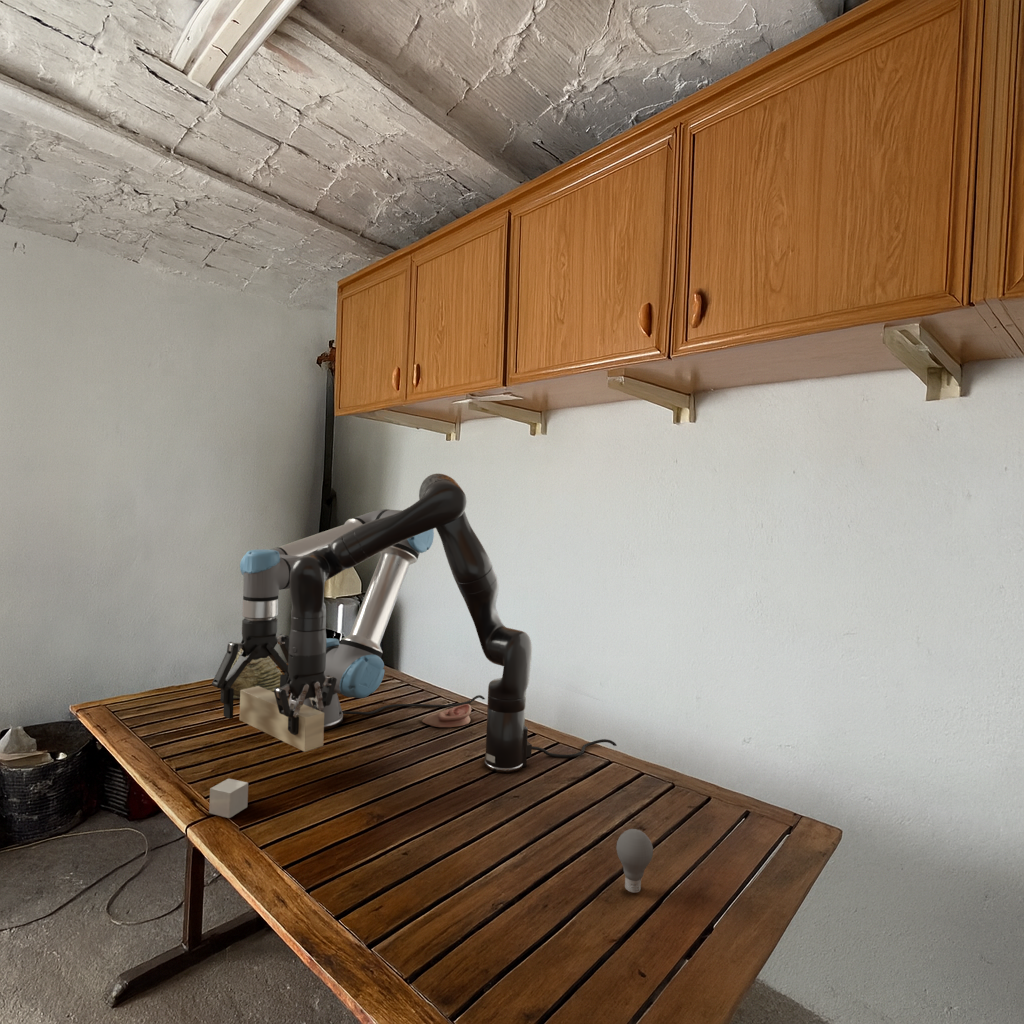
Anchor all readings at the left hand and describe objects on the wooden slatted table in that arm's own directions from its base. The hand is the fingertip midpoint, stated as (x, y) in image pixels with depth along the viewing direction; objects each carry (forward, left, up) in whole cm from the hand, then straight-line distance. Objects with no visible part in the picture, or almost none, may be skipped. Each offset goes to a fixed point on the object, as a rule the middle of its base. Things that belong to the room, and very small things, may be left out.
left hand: (257, 710), depth 145 cm
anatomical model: (-54, +9, -14) cm, 56 cm away
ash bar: (0, +10, -3) cm, 10 cm away
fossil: (-28, -50, -14) cm, 59 cm away
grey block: (+13, +14, -14) cm, 23 cm away
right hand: (0, +19, 0) cm, 19 cm away
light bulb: (-18, +87, -14) cm, 90 cm away
